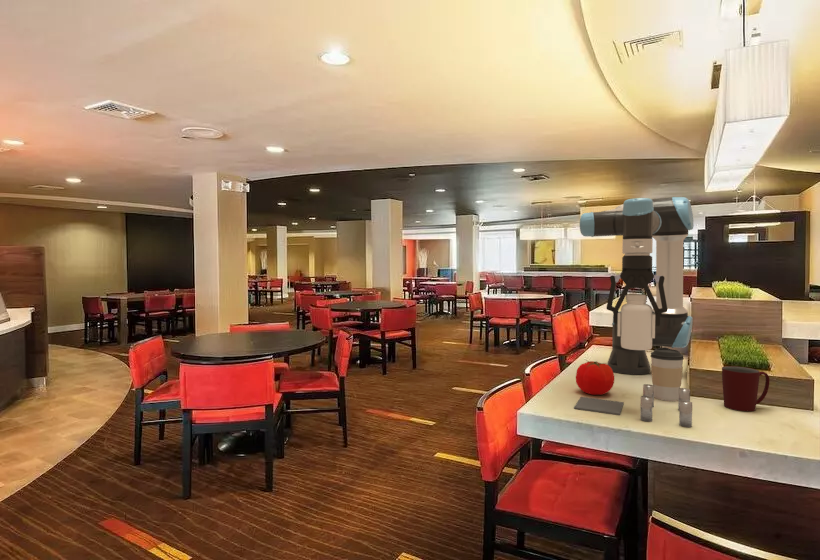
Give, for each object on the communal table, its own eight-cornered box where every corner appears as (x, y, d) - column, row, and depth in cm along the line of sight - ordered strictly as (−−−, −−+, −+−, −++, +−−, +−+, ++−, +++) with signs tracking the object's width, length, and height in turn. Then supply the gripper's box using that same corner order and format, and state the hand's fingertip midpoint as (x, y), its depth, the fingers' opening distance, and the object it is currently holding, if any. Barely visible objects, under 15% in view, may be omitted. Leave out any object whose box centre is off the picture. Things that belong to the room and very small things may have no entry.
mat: (580, 398, 147) (580, 396, 147) (623, 403, 141) (623, 402, 141) (574, 408, 136) (574, 407, 136) (619, 415, 131) (619, 413, 131)
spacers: (643, 404, 141) (643, 383, 141) (689, 409, 135) (689, 388, 135) (640, 420, 126) (640, 398, 126) (692, 428, 121) (692, 404, 120)
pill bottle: (614, 346, 137) (615, 293, 137) (641, 345, 138) (641, 293, 138) (630, 351, 129) (631, 295, 129) (658, 350, 130) (659, 295, 130)
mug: (757, 403, 141) (758, 366, 140) (778, 413, 132) (779, 373, 132) (714, 402, 142) (715, 365, 142) (732, 412, 133) (732, 372, 133)
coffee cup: (687, 402, 142) (688, 352, 142) (654, 401, 144) (655, 351, 143) (677, 394, 151) (677, 347, 150) (646, 393, 153) (646, 346, 152)
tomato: (573, 387, 160) (573, 356, 159) (610, 389, 157) (610, 358, 157) (578, 397, 148) (578, 364, 147) (618, 399, 146) (618, 366, 145)
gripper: (595, 255, 134) (594, 336, 135) (680, 254, 125) (679, 341, 126) (598, 255, 141) (597, 332, 142) (679, 254, 131) (677, 337, 132)
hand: (635, 336), depth 134 cm, fingers closed on pill bottle, 8 cm apart
